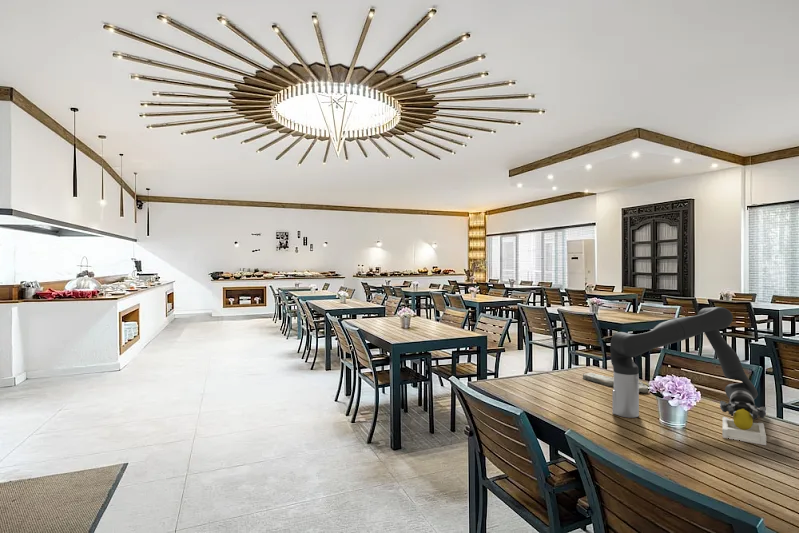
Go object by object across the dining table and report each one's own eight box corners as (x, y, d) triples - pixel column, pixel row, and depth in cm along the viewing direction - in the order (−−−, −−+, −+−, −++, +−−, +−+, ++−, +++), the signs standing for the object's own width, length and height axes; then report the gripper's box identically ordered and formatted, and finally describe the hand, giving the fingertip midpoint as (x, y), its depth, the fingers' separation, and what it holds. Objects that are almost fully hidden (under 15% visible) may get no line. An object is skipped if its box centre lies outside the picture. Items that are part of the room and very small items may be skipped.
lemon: (756, 434, 158) (756, 411, 158) (738, 433, 159) (738, 410, 159) (747, 428, 163) (747, 406, 163) (730, 427, 164) (730, 405, 164)
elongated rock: (590, 379, 244) (578, 382, 238) (589, 369, 244) (577, 372, 238) (654, 391, 213) (642, 395, 208) (653, 380, 214) (641, 384, 208)
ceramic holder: (722, 437, 158) (722, 429, 158) (722, 424, 170) (722, 416, 170) (766, 445, 151) (766, 436, 151) (763, 431, 163) (763, 423, 163)
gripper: (719, 389, 176) (718, 400, 163) (766, 395, 168) (769, 408, 154) (719, 408, 177) (718, 421, 163) (766, 415, 168) (769, 429, 154)
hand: (743, 414), depth 159 cm, fingers open, 5 cm apart
